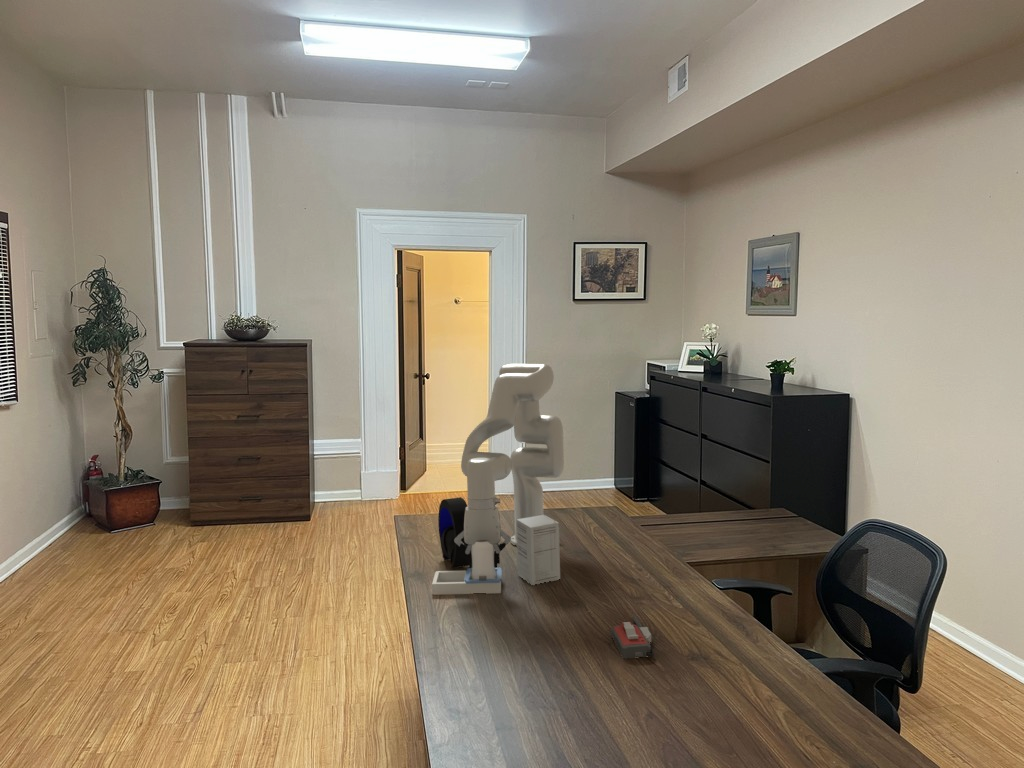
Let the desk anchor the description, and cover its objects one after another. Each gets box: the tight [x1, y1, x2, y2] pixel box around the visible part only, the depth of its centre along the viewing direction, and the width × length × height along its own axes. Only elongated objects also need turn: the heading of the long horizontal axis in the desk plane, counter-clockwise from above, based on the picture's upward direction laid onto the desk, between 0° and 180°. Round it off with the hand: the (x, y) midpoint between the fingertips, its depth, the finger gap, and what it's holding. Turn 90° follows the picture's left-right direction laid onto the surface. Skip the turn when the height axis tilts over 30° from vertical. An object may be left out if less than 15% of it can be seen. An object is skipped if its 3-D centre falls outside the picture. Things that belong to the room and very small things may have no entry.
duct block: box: [431, 566, 503, 596], centre depth 198 cm, size 19×10×5 cm, turn 90°
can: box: [471, 541, 495, 580], centre depth 198 cm, size 6×6×12 cm
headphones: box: [437, 497, 469, 569], centre depth 216 cm, size 19×7×20 cm, turn 22°
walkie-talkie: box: [610, 614, 655, 660], centre depth 164 cm, size 9×4×20 cm
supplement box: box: [516, 514, 561, 586], centre depth 204 cm, size 10×9×17 cm
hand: (483, 565), depth 198 cm, fingers closed on can, 6 cm apart
